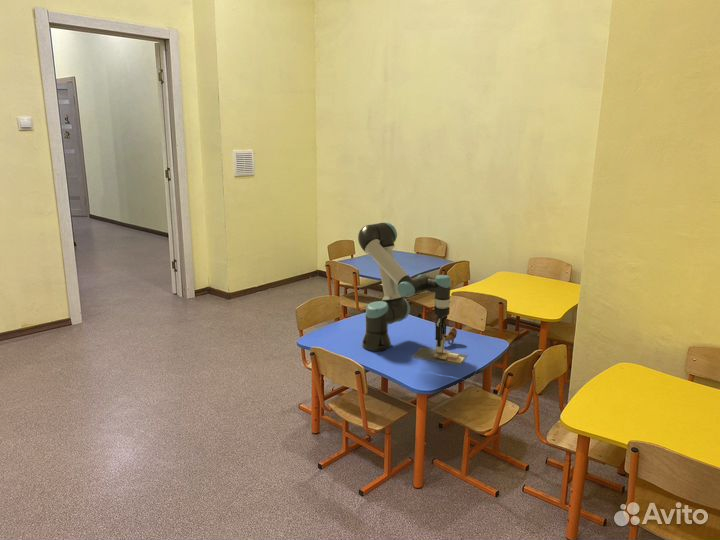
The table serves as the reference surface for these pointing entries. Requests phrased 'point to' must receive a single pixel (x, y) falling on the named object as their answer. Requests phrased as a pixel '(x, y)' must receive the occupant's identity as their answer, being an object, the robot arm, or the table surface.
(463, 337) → the table surface
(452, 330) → the lion figurine
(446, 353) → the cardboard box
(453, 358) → the cream square tile
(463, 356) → the taupe mat
